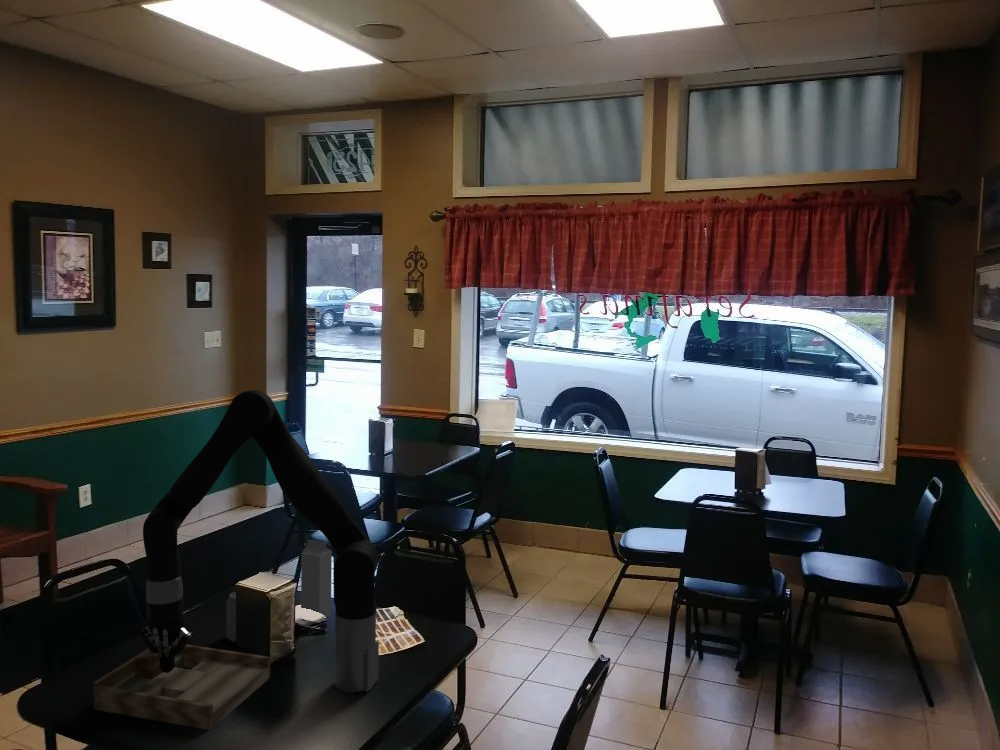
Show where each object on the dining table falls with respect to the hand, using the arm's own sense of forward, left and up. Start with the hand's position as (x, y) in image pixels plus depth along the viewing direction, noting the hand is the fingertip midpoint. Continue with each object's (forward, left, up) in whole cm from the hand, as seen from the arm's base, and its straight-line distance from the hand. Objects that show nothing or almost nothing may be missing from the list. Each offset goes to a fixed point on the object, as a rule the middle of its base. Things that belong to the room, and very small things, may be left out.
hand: (167, 671), depth 180 cm
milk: (-13, -47, -5) cm, 49 cm away
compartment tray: (-5, 0, -4) cm, 6 cm away
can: (-1, -29, -5) cm, 29 cm away
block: (+5, 0, -1) cm, 5 cm away
